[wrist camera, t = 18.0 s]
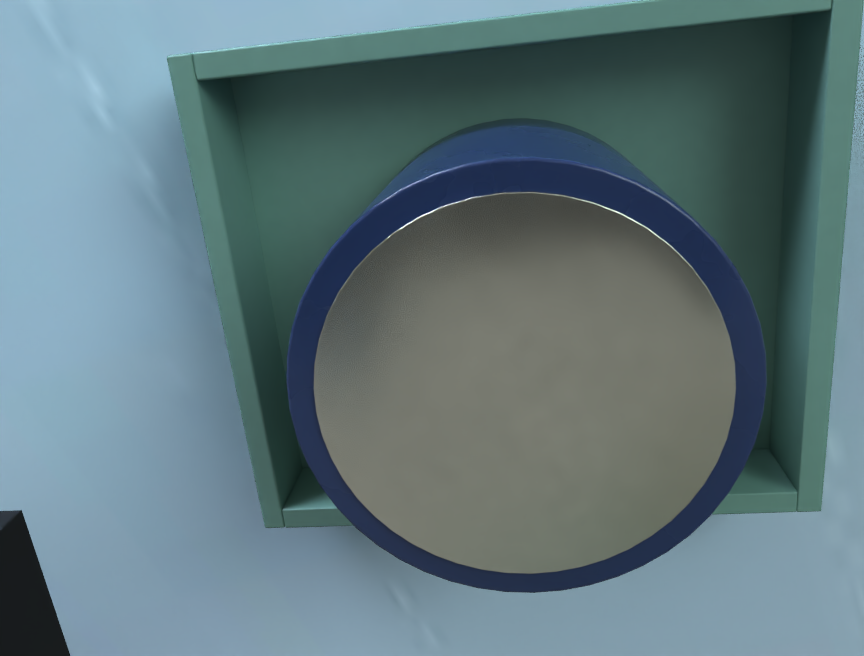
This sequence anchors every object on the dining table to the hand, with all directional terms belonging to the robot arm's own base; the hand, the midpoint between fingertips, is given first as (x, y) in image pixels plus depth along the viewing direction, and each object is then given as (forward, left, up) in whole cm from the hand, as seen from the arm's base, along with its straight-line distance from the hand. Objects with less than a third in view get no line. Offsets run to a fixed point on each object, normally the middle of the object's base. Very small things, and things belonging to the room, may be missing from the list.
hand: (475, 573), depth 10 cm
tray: (+1, -1, -18) cm, 18 cm away
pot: (+1, -6, -12) cm, 14 cm away
